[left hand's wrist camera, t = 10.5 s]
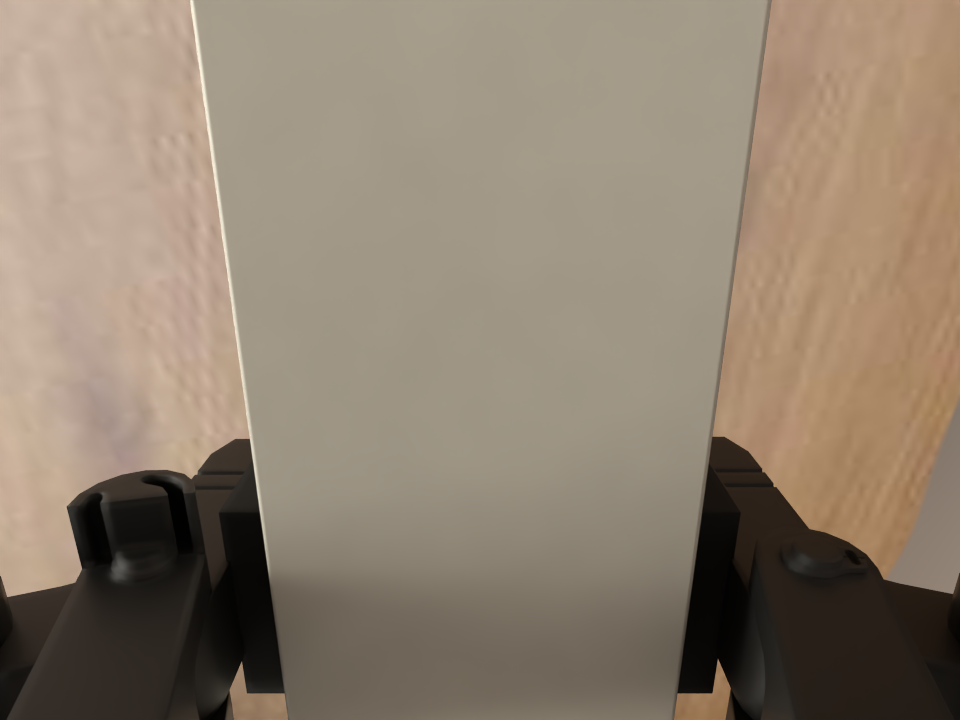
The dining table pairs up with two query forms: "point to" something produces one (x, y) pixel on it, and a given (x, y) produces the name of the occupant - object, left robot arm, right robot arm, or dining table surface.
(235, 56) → the bar
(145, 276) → the dining table surface
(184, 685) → the left robot arm
